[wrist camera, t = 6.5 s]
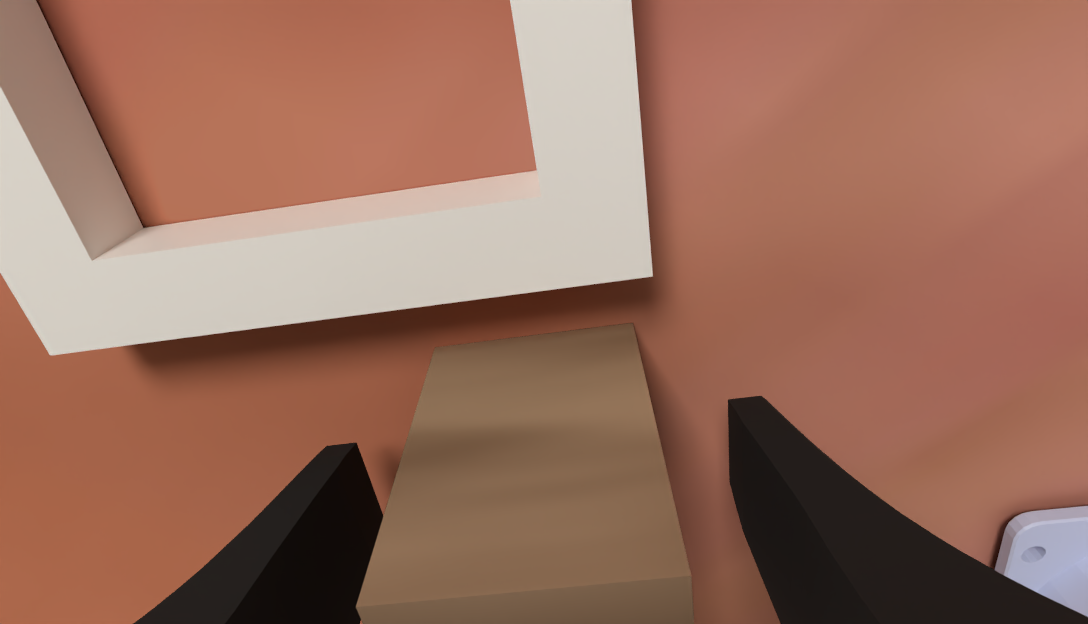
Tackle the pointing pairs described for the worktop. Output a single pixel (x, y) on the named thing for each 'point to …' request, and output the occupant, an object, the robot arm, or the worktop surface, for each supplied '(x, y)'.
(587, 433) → the brown block
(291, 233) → the white square frame
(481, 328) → the worktop surface
